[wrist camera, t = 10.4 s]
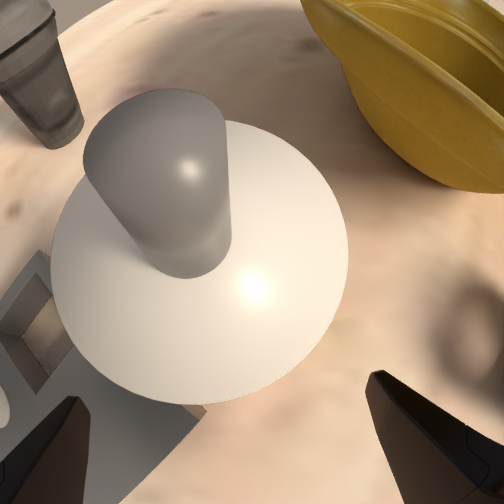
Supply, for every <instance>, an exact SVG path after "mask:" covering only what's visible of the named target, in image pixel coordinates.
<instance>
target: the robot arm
mask: <svg viewBox="0 0 504 504" xmlns="http://www.w3.org/2000/svg"><path fill="white" fill-rule="evenodd" d="M365 394H366V398H367V401H368V405H369V408H370V412H371V415H372V419H373V422H374V426H375V430H376V433H377V436H378V438H379V441H380V443H381V446H382V448H383V451H384V453H385V456H386V458H387V461H388V463H389V466H390V468H391V471H392V473H393V476H394V478H395V481H396V483H397V486H398V488H399V491H400V493H401V496H402V499H403V501H404V504H504V446H503V445H501V444H499V443H497V442H495V441H493V440H491V439H489V438H487V437H485V436H484V435H482V434H480V433H479V432H477V431H475V430H474V429H472V428H471V427H469V426H468V425H465V424H464V423H463V422H461V421H460V420H458V419H457V418H455V417H454V416H452V415H451V414H449V413H448V412H446V411H444V410H443V409H441V408H440V407H438V406H437V405H435V404H434V403H432V402H431V401H429V400H428V399H426V398H425V397H423V396H422V395H420V394H419V393H417V392H416V391H414V390H413V389H411V388H410V387H408V386H407V385H405V384H404V383H402V382H401V381H399V380H398V379H397V378H395V377H394V376H392V375H391V374H389V373H388V372H386V371H384V370H379V371H375V372H372V373H371V374H370V376H369V379H368V383H367V386H366V390H365ZM90 422H91V415H90V412H89V410H88V408H87V407H86V405H85V404H84V402H83V401H82V399H81V398H80V397H79V396H71V395H69V396H67V397H66V398H65V399H64V400H62V401H61V402H60V403H59V404H58V405H57V406H56V407H55V408H54V409H53V410H52V411H51V412H50V413H49V414H48V415H47V416H46V417H45V418H44V419H43V420H42V421H41V422H40V423H39V424H38V425H37V426H36V427H35V428H34V429H33V430H32V431H31V432H30V433H29V434H28V435H27V436H26V437H25V438H24V439H23V440H22V441H21V442H20V443H19V444H18V445H17V446H16V447H15V448H14V449H13V450H12V451H11V452H10V453H9V454H8V455H7V456H6V457H5V458H4V460H2V461H1V462H0V504H83V498H84V489H85V480H86V473H87V465H88V457H89V438H90Z"/></svg>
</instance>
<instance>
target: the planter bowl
mask: <svg viewBox="0 0 504 504" xmlns="http://www.w3.org/2000/svg"><path fill="white" fill-rule="evenodd" d="M300 1H301V4H302V7H303V9H304V11H305V14H306V16H307V18H308V21H309V22H310V24H311V26H312V27H313V29H314V31H315V32H316V33H317V35H318V36H319V38H320V39H321V40H322V42H323V43H324V44H325V45H326V46H327V47H328V48H329V49H330V51H331V52H332V53H333V54H334V55H335V56H336V57H337V58H338V59H339V60H340V62H341V65H342V68H343V71H344V74H345V77H346V80H347V82H348V85H349V88H350V90H351V93H352V95H353V97H354V99H355V101H356V104H357V106H358V108H359V109H360V111H361V113H362V114H363V116H364V118H365V119H366V121H367V122H368V123H369V125H370V126H371V127H372V129H373V130H374V131H375V132H376V134H377V135H378V136H379V137H380V138H381V139H382V140H383V141H384V142H385V143H386V144H387V145H388V146H389V147H390V148H391V149H392V150H393V151H394V152H395V153H396V154H397V155H399V156H400V157H401V158H402V159H404V160H405V161H406V162H407V163H409V164H410V165H412V166H413V167H415V168H416V169H417V170H419V171H420V172H422V173H424V174H425V175H427V176H428V177H430V178H432V179H434V180H436V181H438V182H440V183H442V184H444V185H447V186H450V187H453V188H456V189H459V190H463V191H469V192H476V193H490V194H503V193H504V15H503V14H501V13H500V12H499V11H497V10H496V9H495V8H493V7H492V6H490V5H489V4H487V3H486V2H484V1H483V0H300Z"/></svg>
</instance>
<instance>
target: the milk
mask: <svg viewBox="0 0 504 504" xmlns="http://www.w3.org/2000/svg"><path fill="white" fill-rule="evenodd" d="M489 5H490V6H492V7H493V8H495V9H496V10H497V11H499V12H500V13H501V14H503V15H504V0H490V2H489Z"/></svg>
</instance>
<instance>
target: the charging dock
mask: <svg viewBox="0 0 504 504" xmlns="http://www.w3.org/2000/svg"><path fill="white" fill-rule="evenodd" d="M50 266H51V258H50V257H49V256H47V255H46V254H45V253H43V252H42V251H40V250H38V251H37V252H36V254H35V255H34V256H33V257H32V259H31V260H30V261H29V263H28V264H27V265H26V266H25V268H24V269H23V270H22V272H21V273H20V274H19V276H18V277H17V278H16V280H15V281H14V283H13V284H12V285H11V287H10V288H9V290H8V291H7V292H6V294H5V295H4V297H3V298H2V300H1V301H0V462H1V461H2V460H4V458H5V457H6V456H7V455H8V454H9V453H10V452H11V451H12V450H13V449H14V448H15V447H16V446H17V445H18V444H19V443H20V442H21V441H22V440H23V439H24V438H25V437H26V436H27V435H28V434H29V433H30V432H31V431H32V430H33V429H34V428H35V427H36V426H37V425H38V424H39V423H40V422H41V421H42V420H43V419H44V418H45V417H46V416H47V415H48V414H49V413H50V412H51V411H52V410H53V409H54V408H55V407H56V406H57V405H58V404H59V403H60V402H61V401H62V400H64V399H65V398H66V397H67V396H69V395H71V396H79V397H80V398H81V399H82V401H83V402H84V404H85V405H86V407H87V408H88V410H89V412H90V415H91V422H90V438H89V457H88V465H87V473H86V480H85V489H84V498H83V504H118V503H119V502H121V501H122V500H123V499H124V498H125V497H126V496H127V495H128V494H129V493H130V492H131V491H132V490H133V489H134V488H135V487H136V486H137V485H138V484H139V483H140V482H141V481H143V480H144V479H145V478H146V477H147V476H148V475H149V474H150V473H151V472H152V471H153V470H154V469H155V468H156V467H157V466H158V465H159V464H160V463H161V461H162V460H163V459H164V458H165V457H166V456H167V455H168V454H169V453H170V452H171V451H172V450H173V449H174V448H175V447H176V446H177V445H178V444H179V443H180V442H181V441H182V440H183V438H184V437H185V436H186V435H187V434H188V433H189V432H190V431H191V430H192V429H193V428H194V427H195V426H196V424H197V423H198V422H199V421H200V420H201V419H202V417H203V416H204V414H205V413H206V412H207V411H206V410H205V409H204V408H202V407H201V406H200V405H191V404H174V403H168V402H162V401H157V400H153V399H150V398H147V397H144V396H141V395H138V394H135V393H133V392H131V391H129V390H127V389H125V388H123V387H121V386H119V385H118V384H116V383H114V382H113V381H111V380H110V379H108V378H107V377H106V376H104V375H103V374H102V373H100V372H99V371H98V370H97V369H96V368H95V367H94V366H93V365H92V364H91V363H90V362H89V361H88V360H87V359H86V358H85V357H84V356H83V355H82V354H81V353H80V351H79V350H78V349H77V347H76V346H75V344H74V346H73V347H72V348H71V349H70V351H69V352H68V353H67V354H66V356H65V357H64V358H63V360H62V361H61V362H60V364H59V365H58V366H57V367H56V369H55V370H54V371H53V373H52V374H51V375H50V377H49V376H48V375H47V374H46V372H45V371H44V370H43V368H42V367H41V366H40V364H39V363H38V362H37V360H36V359H35V357H34V356H33V354H32V353H31V352H30V350H29V349H28V347H27V346H26V344H25V343H24V341H23V340H22V338H21V336H22V335H23V333H24V332H25V330H26V329H27V328H28V326H29V325H30V323H31V322H32V321H33V319H34V318H35V317H36V315H37V314H38V313H39V311H40V310H41V309H42V307H43V306H44V305H45V303H46V302H47V301H48V299H49V298H50V297H51V296H52V295H53V291H52V284H51V271H50ZM53 296H54V295H53Z"/></svg>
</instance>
